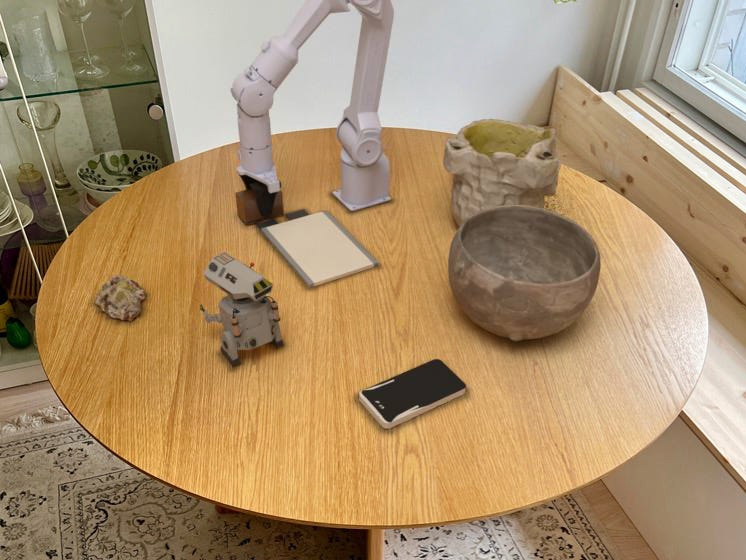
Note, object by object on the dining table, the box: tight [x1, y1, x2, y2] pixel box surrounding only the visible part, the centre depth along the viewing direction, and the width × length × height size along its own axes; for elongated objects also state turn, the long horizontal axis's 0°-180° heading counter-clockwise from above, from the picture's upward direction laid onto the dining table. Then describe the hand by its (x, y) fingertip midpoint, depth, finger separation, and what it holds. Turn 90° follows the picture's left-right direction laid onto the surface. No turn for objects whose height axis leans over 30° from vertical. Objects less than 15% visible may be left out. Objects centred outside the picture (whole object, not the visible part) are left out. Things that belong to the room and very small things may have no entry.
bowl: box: [447, 205, 602, 342], centre depth 122 cm, size 24×24×15 cm
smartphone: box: [358, 358, 467, 430], centre depth 112 cm, size 8×1×15 cm
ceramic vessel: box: [442, 118, 562, 228], centre depth 141 cm, size 23×24×25 cm
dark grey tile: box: [254, 218, 279, 231], centre depth 145 cm, size 4×3×1 cm
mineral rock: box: [94, 274, 147, 322], centre depth 125 cm, size 11×4×8 cm
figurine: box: [199, 251, 284, 367], centre depth 115 cm, size 9×12×15 cm
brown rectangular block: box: [234, 188, 285, 226], centre depth 145 cm, size 8×4×5 cm, turn 121°
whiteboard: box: [260, 209, 379, 289], centre depth 139 cm, size 14×20×1 cm
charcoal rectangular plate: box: [285, 209, 310, 221], centre depth 147 cm, size 4×3×1 cm
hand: (261, 208), depth 146 cm, fingers closed on brown rectangular block, 4 cm apart
